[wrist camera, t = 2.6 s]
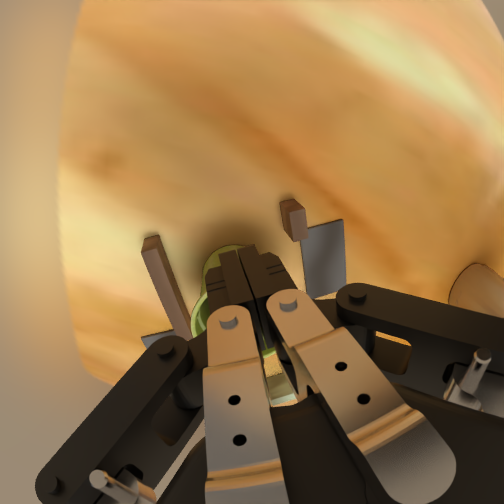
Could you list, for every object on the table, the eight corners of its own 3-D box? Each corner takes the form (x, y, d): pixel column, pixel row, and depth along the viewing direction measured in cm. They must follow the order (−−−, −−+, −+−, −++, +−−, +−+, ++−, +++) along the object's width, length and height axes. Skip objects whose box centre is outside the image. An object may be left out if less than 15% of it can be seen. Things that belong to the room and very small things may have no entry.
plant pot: (268, 217, 30) (298, 258, 23) (282, 293, 35) (308, 345, 27) (175, 242, 29) (174, 292, 22) (202, 316, 34) (209, 373, 26)
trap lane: (339, 188, 30) (358, 199, 27) (345, 358, 43) (356, 376, 39) (99, 252, 28) (89, 272, 25) (182, 404, 40) (184, 426, 37)
